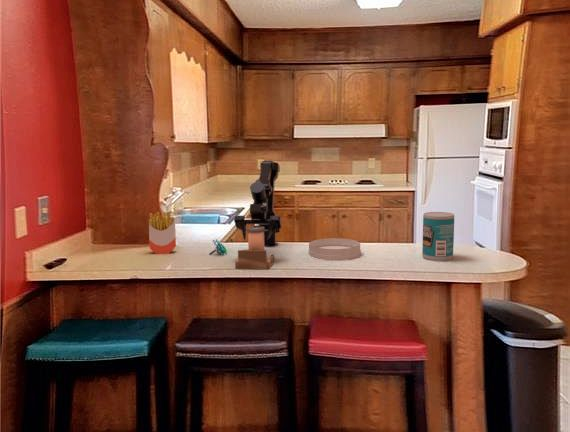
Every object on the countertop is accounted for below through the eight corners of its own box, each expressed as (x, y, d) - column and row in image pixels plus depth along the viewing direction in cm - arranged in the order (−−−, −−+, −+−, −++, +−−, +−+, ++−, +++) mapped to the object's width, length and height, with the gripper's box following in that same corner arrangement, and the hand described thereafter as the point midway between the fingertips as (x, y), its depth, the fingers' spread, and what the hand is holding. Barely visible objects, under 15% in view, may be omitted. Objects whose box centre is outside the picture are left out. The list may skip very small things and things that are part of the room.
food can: (455, 255, 214) (456, 212, 211) (450, 262, 204) (451, 217, 201) (425, 253, 220) (426, 211, 217) (419, 259, 209) (420, 215, 206)
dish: (334, 264, 206) (334, 251, 205) (297, 254, 223) (297, 243, 222) (371, 255, 220) (371, 243, 219) (334, 246, 237) (334, 236, 236)
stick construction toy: (225, 251, 220) (215, 236, 221) (212, 261, 220) (202, 246, 221) (231, 253, 231) (222, 239, 233) (219, 262, 232) (209, 248, 233)
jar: (256, 259, 214) (255, 225, 212) (268, 262, 210) (268, 226, 208) (244, 262, 209) (243, 227, 207) (257, 265, 205) (256, 229, 203)
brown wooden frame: (242, 260, 214) (242, 243, 213) (274, 260, 212) (273, 243, 211) (235, 268, 201) (234, 250, 200) (269, 269, 199) (268, 251, 198)
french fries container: (174, 253, 228) (172, 212, 225) (149, 254, 228) (147, 213, 225) (176, 251, 233) (174, 211, 230) (151, 251, 232) (149, 212, 229)
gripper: (234, 195, 211) (228, 227, 202) (279, 195, 208) (276, 228, 199) (239, 212, 220) (234, 243, 211) (282, 212, 217) (279, 243, 208)
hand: (255, 239), depth 207 cm, fingers open, 9 cm apart
